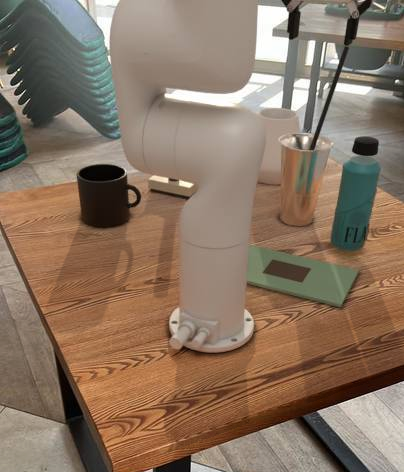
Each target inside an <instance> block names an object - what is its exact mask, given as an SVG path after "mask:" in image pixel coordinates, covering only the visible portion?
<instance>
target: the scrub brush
mask: <svg viewBox="0 0 404 472" xmlns="http://www.w3.org/2000/svg"><path fill="white" fill-rule="evenodd" d="M147 188H148V189H149V191H150V192H151V193H155V194H160V195H165V196H170V197H174V198H179V199H183V200H187V201H188V200H189V199H190V198H191V197H192V196H193V195H194V194H195V193H196V191H197V186H196V185H194V184H192V183H188V182H184V181H181V180H176V179H171V178H166V177H161V176H156V175H151V176H150V177H149V178H148V179H147Z"/></svg>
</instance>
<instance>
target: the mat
mask: <svg viewBox="0 0 404 472" xmlns="http://www.w3.org/2000/svg"><path fill="white" fill-rule="evenodd" d="M359 272H360V269H357V268H353V267H348V266H345V265H340V264H335V263H331V262H327V261H322V260H318V259H314V258H308V257H306V256H302V255H297V254H292V253H288V252H284V251H279V250H275V249H271V248H267V247H262V246H258V245H255V244H250V248H249V261H248V274H247V285H251V286H254V287H259V288H263V289H266V290H270V291H275V292H278V293H282V294H286V295H289V296H290V295H291V296H293V297H298V298H301V299H306V300H310V301H314V302H317V303H322V304H326V305H329V306H333V307H337V308H342V306H343V303H344V302H345V300H346V299H347V296H348V295H349V292H350V290H351V288H352V286H353V285H354V282H355V280H356V278H357V277H358V274H359Z"/></svg>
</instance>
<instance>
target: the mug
mask: <svg viewBox="0 0 404 472" xmlns="http://www.w3.org/2000/svg"><path fill="white" fill-rule="evenodd" d="M76 181H77V182H76V183H77V190H78V198H79V206H80V214H81V219H82V222H84V223H85V224H87V225H89V226H92V227H97V228H111V227H116V226H119V225H123V224H124V223H126V222H128V220H129V219H130V216H131V215H130V213H131V211H130V209H132V208H136V207H137V206H138V205H139V204H140V203H141V200H142V194H141V191H140V190H139V189H138V187H137V186H135V185H133V184H130V183H128V182H129V181H128V172H127V169H125V168H124V167H123V166H120V165H117V164H112V163H97V164H90V165H86V166H84V167H82V168H80V169H79V170H77V172H76ZM129 190H130V191H132V192H133V193H134V194H135V196H136V200H135V201H133V202H130V197H129Z"/></svg>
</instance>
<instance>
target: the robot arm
mask: <svg viewBox="0 0 404 472" xmlns="http://www.w3.org/2000/svg"><path fill="white" fill-rule="evenodd" d="M280 1H281V2H282V4H283V5H284V7H285V8H286V12H287V13H288V17H287V27H286V33H287V34H288V40H289V41H293V40H295V39H296V38H298V37H299V33H300V26H301V25H300V23H301V14H302V11H301V10H300V7H301V6H302V4H303V3H304V2H306V3H316V4H317V3H318V4H330V5H331V4H332V5H345V7H346V8H347V10H348V12H349V14H350V15H349V17H348V18H347V20H346V27H345V31H344V32H345V34H344V39H343V45H344V46H346V47H349V46H350V45H352V44H353V41H355V40H356V38H357V35H358V29H359V22H360V17H361V16H362V15H363V14H365V13H366V11H368V10H369V9H370V8H371V7H372V6H373V5H374V3H375V1H376V0H364V1H362V2H361V3H360V2H359V0H280ZM258 14H259V0H119V1H118V2H117V4H116V6H115V8H114V11H113V14H112V19H111V23H110V29H109V42H108V43H109V60H110V66H111V75H112V83H113V90H114V97H115V106H116V112H117V120H118V127H119V134H120V141H121V146H122V149H123V153H124V156H125V158H126V160H127V162H128V163H129V165H130V166H131V167H132V168H133V169H135V170H137V171H138V172H141V173H143V174H147V175H151V176H153V175H156V176H161V177H166V178H171V179H176V180H181V181H184V182H188V183H192V184H194V185H196V186H197V191H196V193H195V194H194V195H193V196H192V197H191V198H190V199H189V200H188V199H187V200H186V201H185V203H184V204H183V206H182V207H181V209H180V212H179V217H178V225H177V228H178V301H179V302H178V303H179V306H178V307H176V308H175V309H174V310H173V311H172V312H171V315H170V316H169V320H168V329H169V332H170V335H171V337H170V339H169V340H168V344H169V346H170V347H171V348H172V349H174V350H177V351H178V350H181V349H182V348H183V347H185V348H188V349H190V350H194V351H197V352H202V353H212V354H213V353H224V352H228V351H233V350H236V349H238V348H240V347H242V346H244V345H245V344H246V343H248V342H249V341H250V339H251V338H252V336H253V334H254V331H255V319H254V317H253V316H252V314H251V313H250V312H249V310H247V308H246V299H247V298H246V297H247V285H248V284H247V274H248V261H249V248H250V245H251V235H252V223H253V222H252V221H253V210H254V203H255V196H256V190H257V184H258V176H259V172H260V168H261V164H262V160H263V156H264V151H265V146H266V130H265V126H264V124H263V122H262V120H261V118H260V117H259V116H258V115H257V114H258V113H256V112H255V111H253V110H252V109H251V108H249V107H246V106H244V105H241V104H238V103H233V102H229V101H223V100H217V99H208V98H202V97H192V96H184V95H178V94H172V93H171V94H170V93H168V92H167V89H171V90H178V91H179V90H180V91H187V92H194V93H202V94H203V93H204V94H211V95H212V94H213V95H229V94H234V93H237V92H239V91H242V90H243V89H244V88H245V87H246V86H247V85H248V84H249V82H250V80H251V78H252V76H253V73H254V69H255V61H256V53H257V41H258V40H257V37H258Z"/></svg>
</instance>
